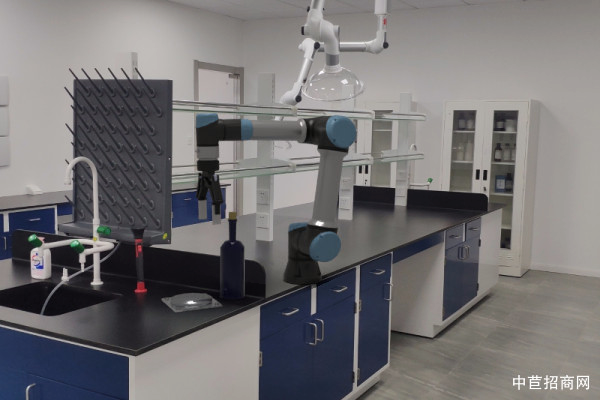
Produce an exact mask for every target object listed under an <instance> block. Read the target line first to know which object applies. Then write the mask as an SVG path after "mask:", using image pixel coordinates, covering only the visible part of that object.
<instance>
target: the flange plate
mask: <svg viewBox="0 0 600 400" xmlns="http://www.w3.org/2000/svg"><path fill="white" fill-rule="evenodd" d="M161 301H162V302H163V303H164V304H165V305H166V306H168V308H170V309H171V310H172V311H173V312H174V313H181V312H189V311H197V310H205V309H212V308H220V307H221V308H222V307H223V304H222V303H220V302H219V301H218V300H217V299H215V298H213V297H212V296H211V295H209V294H208V293H205V292H203V293H200V292H198V293H197V292H189V293H188V292H187V293H186V292H185V293H181V294H175V295H173V296H172V297H163V298H161Z"/></svg>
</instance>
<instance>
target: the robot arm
mask: <svg viewBox="0 0 600 400" xmlns="http://www.w3.org/2000/svg"><path fill="white" fill-rule="evenodd" d="M195 116H196V117H195V138H196V139H195V140H196V149H195V153H196V159H197V161H196V170H197V171H198V174H197V176H198V177H197V183H196V193H195V199H197V200H198V220H207V219H208V212H207V211H208V206H207V205H208V204H207V201H208V197H207V194H208V192H209V195H210V198H211V205H210V206H211V216H212V217H211V218H212V220H211V221H212V225H221V224H222V213H221V212H222V211H221V206H222V204H224V198H223V194H222V187H221V183H220V175H219V174H216V172H218V171H220V160H219V159H220V142H246V141H264V142H265V141H266V142H267V141H270V142H271V141H284V142H285V141H288V142H290V141H291V142H293V141H295V142H297V143H298V144H307V145H314V146H317V149H316V151H317V152H318V153H319V155H320V156H319V164H318V170H317V178H316V186H315V187H316V188H315V193H314V200H313V206H312V215H311V216H312V217H311V219H310V220H309V221H307V222H305V221H304V222H292V223H290V224H289V225H288V230H287V234H288V235H287V240H288V242H287V249H288V252H287V263H286V265H285V269H284V271H283V277H282V278H283V281H284V282H286V283H288V284H293V285H313V284H317V283H321V282H322V280H323V279H322V278H323V275H322V272H321V268H320V265H319V262H320V263H328V262H331V261H333V260H335V258H336V257H338V255H339V254H340V251H341V248H342V241H341V238H340V237H339V235H338V229H339V226H338V225H337V223H336V221H335V220H336V215H337V214H336V213H337V209H338V202H339V201H338V200H339V193H340V186H341V179H342V178H341V177H342V170H343V164H344V163H343V162H344V158H345V157H346V156H348V155H349V149H350V147H351V146H352V145H353V144H354V143H355V141H356V138H357V128H356V125H355V123H354V122H353V120H352V119H351V118H349V117H347V116H345V115H339V114H338V115H337V114H334V115H320V116H315V117H308V118H307V117H305V118H301V117H300V118H298V119H297V120H278V119H277V120H275V119H274V120H273V119H272V120H271V119H267V120H266V119H265V120H263V119H249V118H224V119H223V118H219V114H218V113H216V112H200V113H197V114H196V115H195Z"/></svg>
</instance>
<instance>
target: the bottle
mask: <svg viewBox="0 0 600 400" xmlns="http://www.w3.org/2000/svg"><path fill="white" fill-rule="evenodd" d="M237 215H238V212H237V211H229V212H228V219H227V222H228V239H226V240H224V241H223V243H222V244H221V246H220V247H219V249H220V250H219V251H220V252H219V253H220V254H219V258H220V259H219V298H221V299H224V300H240V299H244V298H245V297H246V295H245V293H246V292H245V289H246V288H245V285H246V283H245V281H246V279H245V274H246V273H245V268H246V265H245V262H246V261H245V260H246V259H245V258H246V257H245V255H246V254H245V253H246V249H245V248H246V247H245V244H243V242H242V240H239V239H237V223H238V218H237V217H238V216H237Z"/></svg>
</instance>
